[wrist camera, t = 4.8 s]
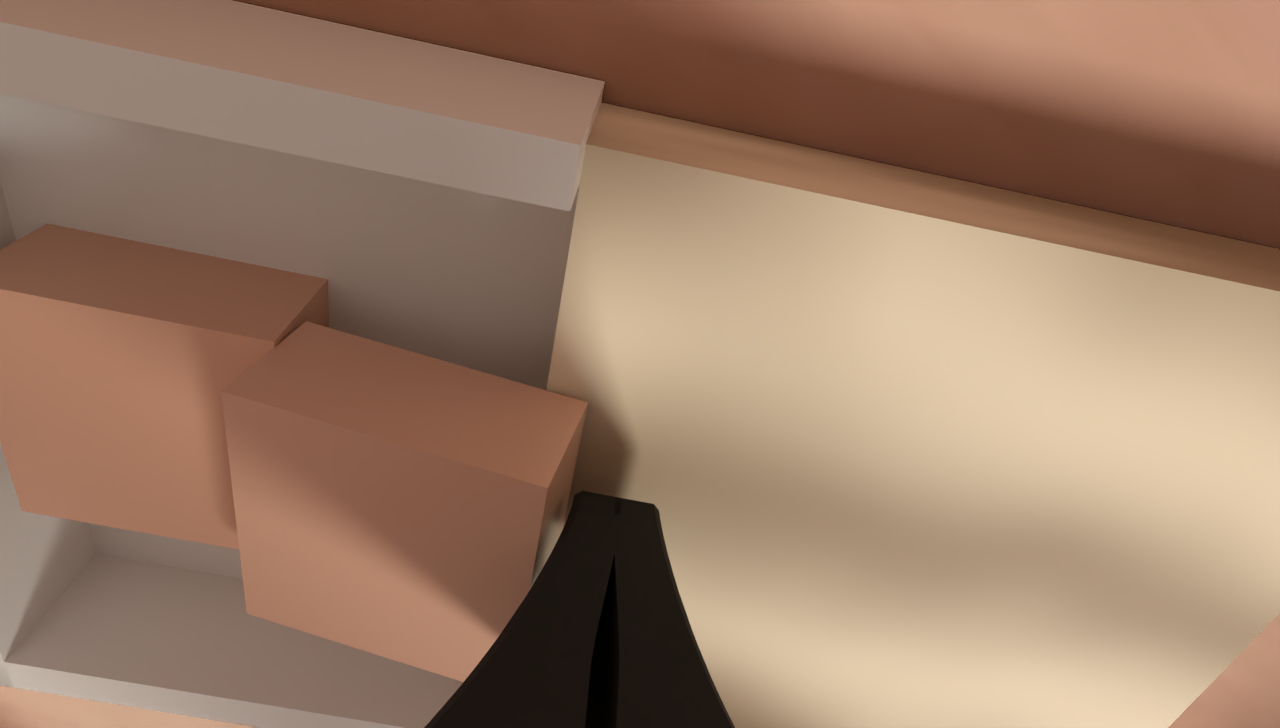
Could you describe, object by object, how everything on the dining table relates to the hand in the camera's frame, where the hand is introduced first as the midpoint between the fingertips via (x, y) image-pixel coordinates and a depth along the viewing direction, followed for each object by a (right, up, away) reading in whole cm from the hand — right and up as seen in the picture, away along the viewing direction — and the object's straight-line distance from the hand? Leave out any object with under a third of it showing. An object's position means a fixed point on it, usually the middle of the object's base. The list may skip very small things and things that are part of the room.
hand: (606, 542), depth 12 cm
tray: (-6, +3, +2) cm, 7 cm away
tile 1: (-3, +1, +1) cm, 3 cm away
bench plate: (+5, 0, +3) cm, 6 cm away
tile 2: (-7, +3, +2) cm, 8 cm away
